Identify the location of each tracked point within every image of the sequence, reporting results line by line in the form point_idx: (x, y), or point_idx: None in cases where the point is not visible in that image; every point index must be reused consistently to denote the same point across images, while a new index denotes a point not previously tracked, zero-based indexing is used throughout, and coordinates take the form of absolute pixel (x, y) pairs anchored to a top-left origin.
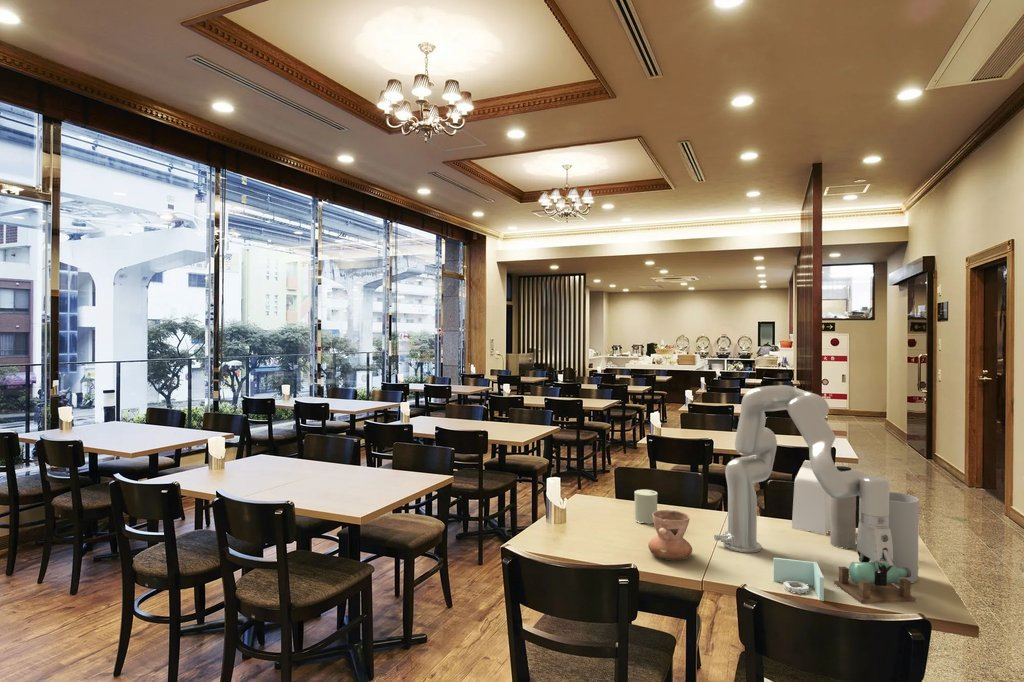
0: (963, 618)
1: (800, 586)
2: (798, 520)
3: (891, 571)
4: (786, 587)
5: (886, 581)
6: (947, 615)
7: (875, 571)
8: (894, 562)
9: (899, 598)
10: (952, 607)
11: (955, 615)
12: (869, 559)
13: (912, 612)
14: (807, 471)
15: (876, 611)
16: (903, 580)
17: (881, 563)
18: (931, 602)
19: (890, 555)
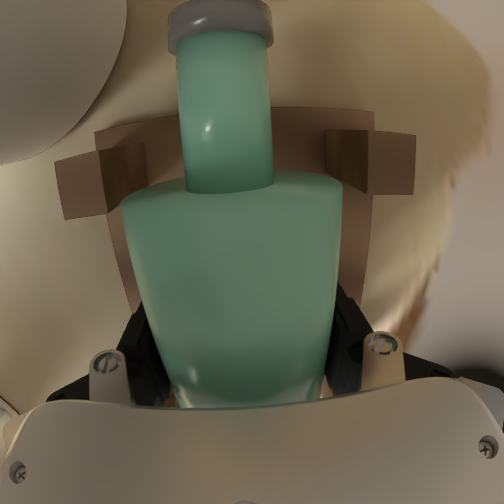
0: (483, 60)
1: None
2: None
3: (336, 261)
4: None
5: (337, 283)
6: (471, 92)
7: (337, 393)
8: (33, 61)
9: (369, 206)
10: (408, 3)
11: (468, 63)
12: (129, 379)
13: (445, 214)
14: None
15: (404, 336)
16: (395, 181)
17: (262, 356)
18: (367, 39)
19: (490, 453)
